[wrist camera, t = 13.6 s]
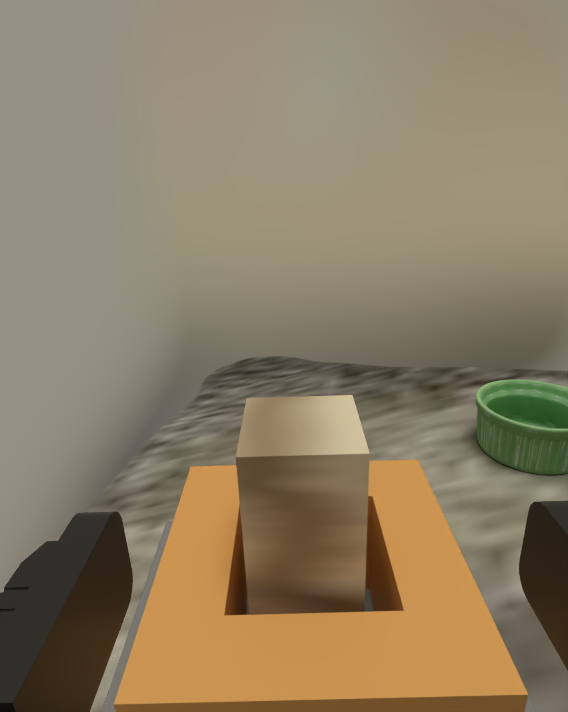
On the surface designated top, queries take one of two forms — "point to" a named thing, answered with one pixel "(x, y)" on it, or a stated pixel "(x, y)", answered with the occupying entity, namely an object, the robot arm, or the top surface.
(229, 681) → the orange square frame
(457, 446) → the top surface
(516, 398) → the ramekin
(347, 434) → the tall wooden block
